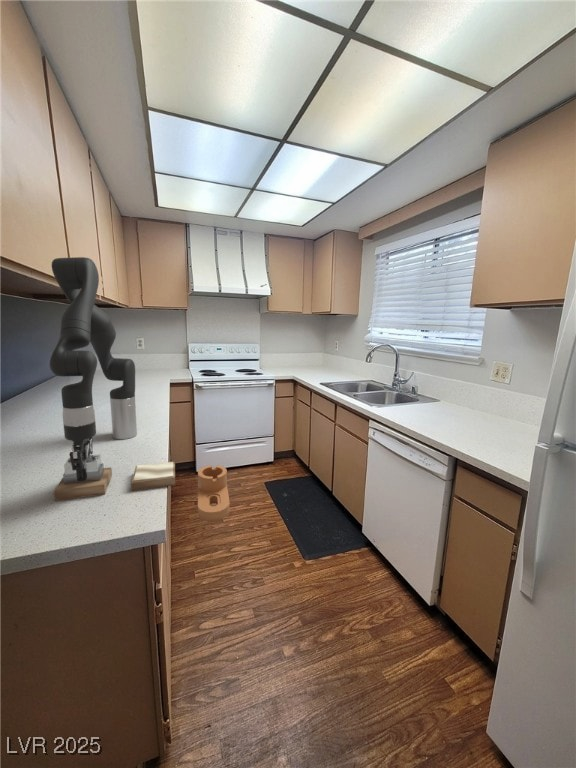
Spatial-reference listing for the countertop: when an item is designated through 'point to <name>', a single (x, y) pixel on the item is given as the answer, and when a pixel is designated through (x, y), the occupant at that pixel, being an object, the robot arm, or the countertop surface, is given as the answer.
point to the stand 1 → (83, 487)
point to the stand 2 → (153, 476)
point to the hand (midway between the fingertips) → (84, 475)
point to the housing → (92, 470)
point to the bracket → (213, 493)
